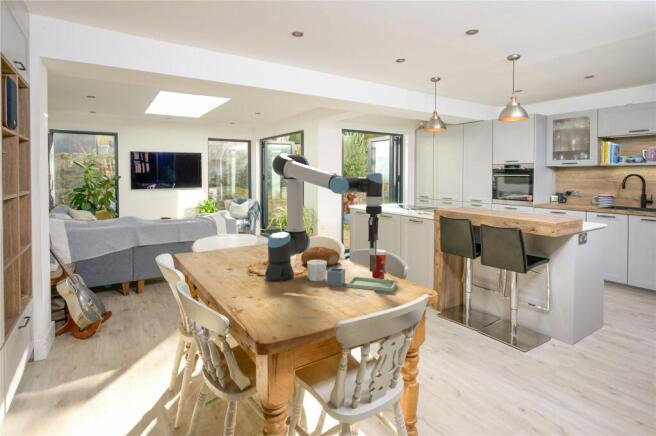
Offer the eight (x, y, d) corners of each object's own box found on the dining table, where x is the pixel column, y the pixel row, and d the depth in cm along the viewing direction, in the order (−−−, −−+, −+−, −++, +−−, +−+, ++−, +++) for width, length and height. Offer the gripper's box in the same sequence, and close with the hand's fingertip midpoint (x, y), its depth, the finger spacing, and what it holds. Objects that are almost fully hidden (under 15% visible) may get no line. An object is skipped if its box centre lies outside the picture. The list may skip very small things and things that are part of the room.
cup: (329, 279, 204) (329, 261, 203) (321, 284, 195) (321, 265, 194) (312, 277, 208) (312, 259, 207) (303, 282, 199) (303, 263, 198)
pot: (327, 287, 191) (327, 271, 190) (331, 283, 197) (331, 267, 196) (341, 288, 188) (341, 272, 187) (345, 284, 195) (345, 268, 194)
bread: (339, 268, 228) (340, 251, 227) (299, 268, 228) (299, 251, 227) (339, 259, 251) (339, 244, 250) (302, 259, 251) (302, 243, 250)
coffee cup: (385, 281, 202) (386, 252, 200) (369, 280, 203) (370, 251, 201) (386, 277, 210) (387, 249, 208) (371, 276, 211) (371, 248, 210)
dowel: (368, 271, 189) (369, 234, 187) (370, 270, 192) (370, 233, 190) (375, 272, 188) (375, 235, 186) (376, 270, 191) (377, 234, 189)
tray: (346, 288, 188) (346, 283, 188) (353, 281, 201) (353, 276, 201) (392, 293, 181) (392, 288, 181) (396, 285, 195) (396, 280, 194)
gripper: (378, 207, 178) (377, 257, 181) (384, 204, 193) (383, 251, 196) (362, 206, 180) (361, 256, 183) (369, 203, 195) (368, 250, 198)
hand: (372, 253), depth 189 cm, fingers closed on dowel, 3 cm apart
